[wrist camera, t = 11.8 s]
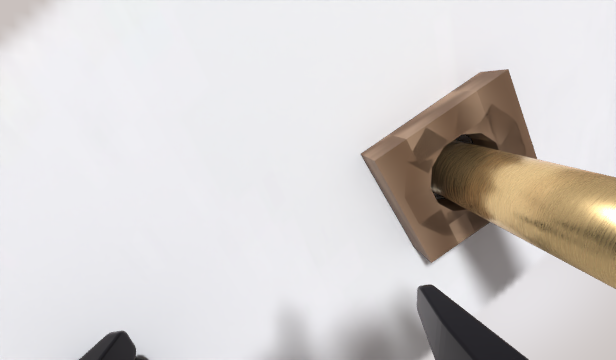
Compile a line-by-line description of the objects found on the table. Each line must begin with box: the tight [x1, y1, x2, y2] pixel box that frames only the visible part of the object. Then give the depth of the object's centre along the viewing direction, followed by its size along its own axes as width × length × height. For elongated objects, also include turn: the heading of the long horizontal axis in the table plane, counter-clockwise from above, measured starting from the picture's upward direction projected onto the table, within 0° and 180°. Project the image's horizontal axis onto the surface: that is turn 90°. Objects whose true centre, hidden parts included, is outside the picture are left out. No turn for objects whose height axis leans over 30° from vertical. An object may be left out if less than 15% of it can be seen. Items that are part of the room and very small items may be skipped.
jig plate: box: [361, 69, 537, 263], centre depth 22 cm, size 11×10×2 cm
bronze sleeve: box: [430, 140, 616, 289], centre depth 16 cm, size 4×4×15 cm
